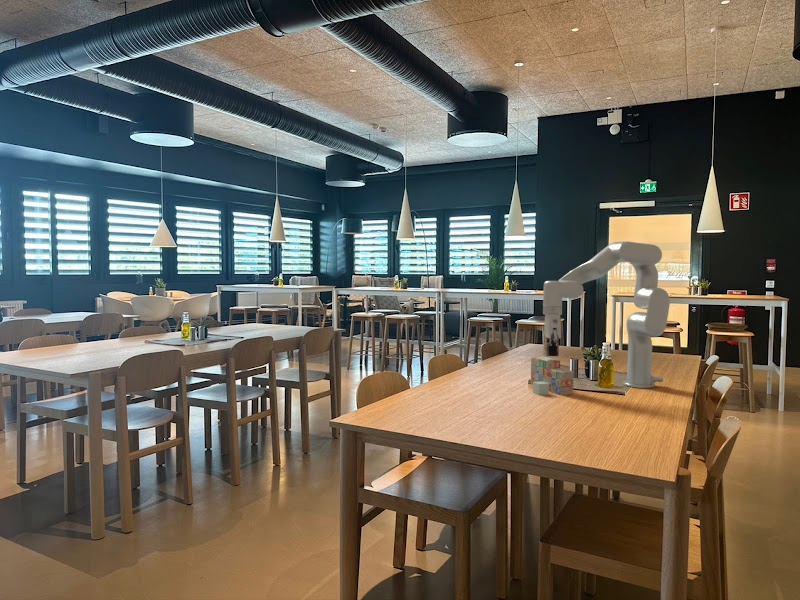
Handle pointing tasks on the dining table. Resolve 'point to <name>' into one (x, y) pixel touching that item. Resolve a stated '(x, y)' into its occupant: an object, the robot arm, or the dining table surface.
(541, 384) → the sage block
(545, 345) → the walnut cube
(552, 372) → the stack of blocks
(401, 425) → the dining table surface
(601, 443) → the dining table surface
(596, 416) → the dining table surface
